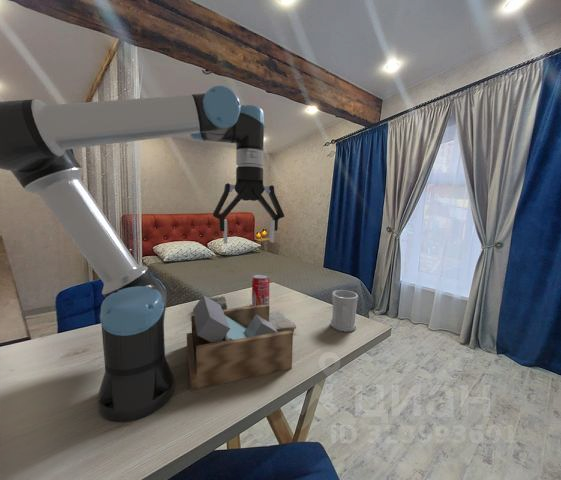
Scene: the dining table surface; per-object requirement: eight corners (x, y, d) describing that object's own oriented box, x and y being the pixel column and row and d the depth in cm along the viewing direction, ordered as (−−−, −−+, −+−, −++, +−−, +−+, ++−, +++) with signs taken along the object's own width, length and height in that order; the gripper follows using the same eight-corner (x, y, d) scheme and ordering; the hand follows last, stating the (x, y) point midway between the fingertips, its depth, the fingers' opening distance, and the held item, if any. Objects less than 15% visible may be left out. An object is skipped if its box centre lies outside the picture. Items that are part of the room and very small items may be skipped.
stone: (298, 333, 92) (298, 325, 92) (269, 339, 88) (269, 331, 87) (278, 315, 106) (279, 309, 105) (253, 320, 101) (253, 313, 100)
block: (249, 341, 75) (262, 323, 75) (244, 331, 80) (256, 314, 81) (265, 350, 77) (278, 332, 77) (259, 340, 82) (271, 323, 83)
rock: (195, 310, 108) (195, 294, 107) (212, 304, 115) (212, 289, 114) (218, 319, 100) (218, 302, 99) (235, 312, 107) (235, 296, 106)
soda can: (272, 305, 115) (273, 275, 113) (262, 311, 109) (262, 279, 107) (258, 301, 119) (259, 272, 117) (248, 307, 112) (248, 276, 111)
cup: (364, 332, 93) (367, 298, 91) (342, 336, 90) (344, 301, 88) (346, 319, 103) (348, 288, 101) (325, 323, 99) (327, 291, 98)
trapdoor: (197, 336, 64) (210, 318, 64) (192, 308, 79) (203, 294, 80) (271, 374, 72) (281, 357, 73) (253, 342, 88) (262, 329, 88)
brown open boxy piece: (190, 390, 63) (189, 350, 62) (186, 345, 82) (185, 314, 80) (291, 368, 72) (292, 332, 71) (267, 332, 91) (267, 304, 90)
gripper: (203, 162, 68) (205, 245, 72) (296, 168, 76) (294, 243, 79) (202, 165, 75) (203, 241, 79) (287, 170, 83) (285, 239, 86)
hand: (249, 242), depth 79 cm, fingers open, 13 cm apart
